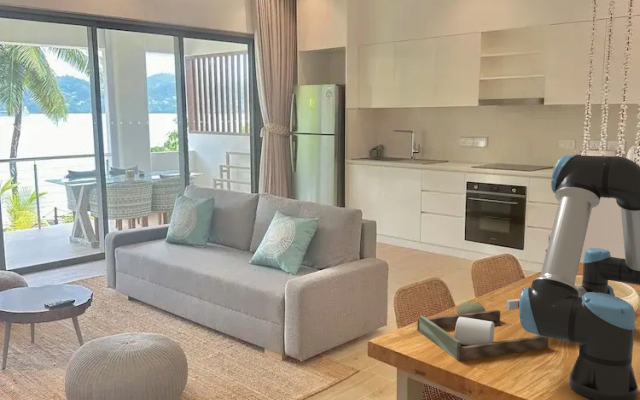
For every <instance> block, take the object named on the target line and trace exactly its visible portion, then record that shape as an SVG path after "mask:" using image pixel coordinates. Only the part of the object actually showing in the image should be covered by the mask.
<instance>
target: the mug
mask: <svg viewBox="0 0 640 400" xmlns="http://www.w3.org/2000/svg"><path fill="white" fill-rule="evenodd" d="M454 328H455V329H454V337H455V338H456V339H458V340H459V341H461V345H463V346H471V345H478V344H485V343H492V342H494V339H495V326H494V322H491V321H485V320H478V319H472V318H466V317H459V318H458V320H457V323H456V327H454Z"/></svg>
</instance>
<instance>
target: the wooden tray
mask: <svg viewBox="0 0 640 400" xmlns="http://www.w3.org/2000/svg"><path fill="white" fill-rule="evenodd" d="M459 317H466V318H472V319H478V320H485V321H491V322H494V327H499V326H502V323H500V322H501V310H499V309H496V310H488V311H487V310H485V311H484V312H476V313H468V314H460V315H459V314H453V315H446V316H445V315H444V316H437V317H428V318H427V317H425V316H424V315H420V316H419V319H417V327H416V328H417V332H419V333H421V334H422V336H423V335H424V336H425V337H426V338H428V339H429V340H430V341H431V342H433V343H434V344H435V345H437V346H438V347H439V348H440V349H442V350H443V351H445V352H446V353H447V354H449V355H450V356H451V357H453V358H454V359H455V360H457V361H458V362H460V361H461V362H463V361H468V360H474V359H475V360H476V359H480V358H481V359H482V358H487V357H489V358H490V357H493V356H495V357H496V356H501V355H507V354H508V355H509V354H513V353H514V354H515V353H521V352H527V351H529V352H530V351H534V350H540V349H541V350H542V349H547V348H548V349H549V338H550V337H545V336H539V335H534V336H529V337H522V338H514V339H507V340H500V341H493V342H492V343H485V344H478V345H471V346H468V345H463V346H462V344H461V341H459V340H458V339H456V338H455V336H453V335H451V334H450V333H449V332H447V331H446V330H444V329H448V328H456V323H457V320H458V318H459Z"/></svg>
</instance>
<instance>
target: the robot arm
mask: <svg viewBox="0 0 640 400" xmlns="http://www.w3.org/2000/svg"><path fill="white" fill-rule="evenodd" d="M551 177H552V178H551V182H550V183H551V184H550V186H551V191H552V193H554V194H555V195H554V196H555V200H557V202H558V205H557V208H556V213H555V218H554V219H553V220H554V221H553V225H552V227H551V228H552V229H551V232H550V234H551V236H550V240H549V239H548V243H549V244H548V243H547V248H546V249H547V252H546V251H545V254H546V255H545V256H544V260H543V264H542V268H541V271H540V276H538V277H536V278H534V279H533V280H532V282H531V285H530V286H527V287H524V288H522V290H521V292H520V297H519V298H515V299H506V300H505V301H506V304H505V305H506V307H505V309H506V310H508V311H513V310H518V313H519V320H520V326H521V327H522V328H523V329H524V331H525V332H527V333H530V334H534V335H536V336H545V337H549V338H550V339H555V340H560V341H563V342H564V341H565V342H568V343H572V344H576V345H577V344H578V346H579V349H578V356H577V358H576V361H575V362H574V364H573V367H572V369H571V371H570V373H569V374H570V375H569V381H568V382H569V386H570V387H571V389H572V390H573V391H574V392H576V393H577V394H579V395H581V396H583V397H584V398H587V399H590V400H637V399H638V395H639V394H638V392H639V387H638V382H637V379H636V376H635V372H634V368H633V365H632V364H633V363H632V362H633V361H632V360H633V352H634V351H633V350H634V349H633V348H634V340H635V338H634V337H635V336H634V335H635V329H636V325H637V324H636V311H635V309H634V308H635V307H633V306H632V304H630V303H629V302H628V301H626V300H625V299H623V298H620V297H618V296H616V294H615V292H614V288H612V286H611V285H609V281H612V282H619V283H625V284H630V285H635V286H640V165H639V164H638V163H636V162H635V161H633V160H632V159H630V158H627V157H624V156H617V155H614V156H613V155H611V156H610V155H609V156H608V155H582V154H578V153H577V154H567V155H566V154H565V155H564V156H561V157H560V158H559V159H558V161H557V162H556V164H555V166H554V167H553V170H552V174H551ZM601 198H605V199H615V201H616V204H617V206H618V207H619V208H620V212H621V225H622V227H621V228H622V236H623V237H622V238H623V245H624V246H623V248H624V258H621V257H613V256H611V252H610V251H609V249H604V248H600V247H591V248H587V249H586V250H585V251H584V257H583V262H582V263H583V268H582V283H581V285H575V283H576V280H577V275H578V270H579V266H580V263H581V258H582V252H583V248H584V245H585V240H586V236H587V231H588V228H589V222H590V217H591V214H592V210H593V209H594V208H596V207H598V206H599V204H600V201H601Z"/></svg>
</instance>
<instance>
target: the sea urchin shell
mask: <svg viewBox="0 0 640 400" xmlns="http://www.w3.org/2000/svg"><path fill="white" fill-rule="evenodd" d="M484 311H486V309H485V307H484V305H482V304H480V303H479V302H476V301H475V302H474V301H465V302H464V301H463V302H462V303H459V305H458V306H457V309H456V313H457V315H460V314H468V313H476V312H484Z"/></svg>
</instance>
